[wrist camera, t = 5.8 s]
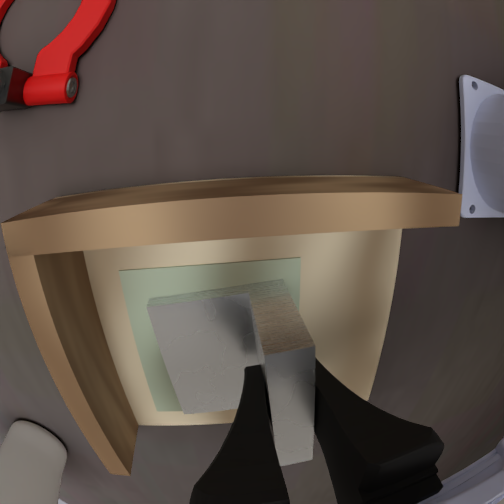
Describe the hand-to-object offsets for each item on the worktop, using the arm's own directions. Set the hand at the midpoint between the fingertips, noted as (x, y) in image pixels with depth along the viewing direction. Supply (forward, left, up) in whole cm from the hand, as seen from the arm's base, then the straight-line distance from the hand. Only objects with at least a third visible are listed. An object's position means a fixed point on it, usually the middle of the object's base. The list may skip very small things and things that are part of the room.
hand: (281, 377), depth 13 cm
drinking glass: (+18, +10, -3) cm, 21 cm away
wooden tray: (+1, -1, -3) cm, 3 cm away
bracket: (+2, 0, -2) cm, 3 cm away
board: (+1, -1, -3) cm, 3 cm away
